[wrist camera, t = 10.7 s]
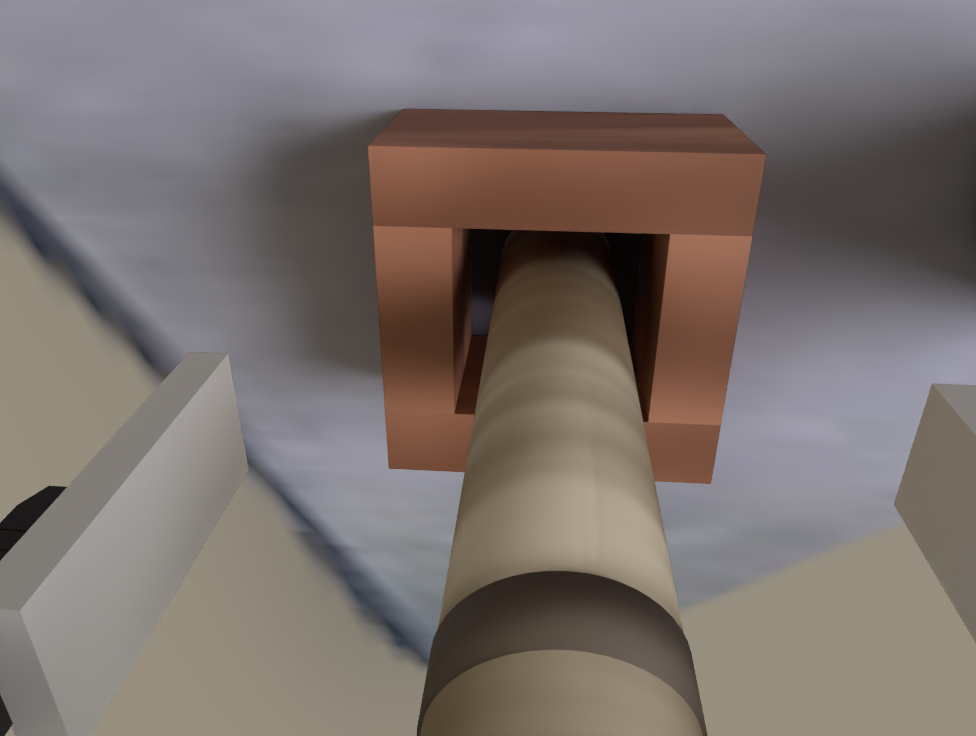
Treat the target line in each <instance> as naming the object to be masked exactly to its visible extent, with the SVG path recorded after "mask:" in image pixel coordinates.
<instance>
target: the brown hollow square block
mask: <svg viewBox="0 0 976 736" xmlns="http://www.w3.org/2000/svg"><path fill="white" fill-rule="evenodd" d="M368 158H369V173H370V188H371V203H372V219H373V234H374V249H375V264H376V280H377V295H378V310H379V325H380V341H381V356H382V371H383V386H384V402H385V417H386V432H387V447H388V463H389V469H410V470H431V471H452V472H465V468H466V462H467V456H468V451H469V445H470V439H471V433H472V427H473V421H474V415H475V409H476V404H477V398H478V392H479V386H480V380H481V374H482V368H483V362H484V356H485V351H486V345H487V339H488V336H480V335H472V315H471V229H502V230H538V231H574V232H610V233H643V235H642V245H641V255H640V265H639V275H638V285H637V295H636V304H635V314H634V324H633V334H632V341H628V345H629V350H630V355H631V360H632V366H633V371H634V376H635V381H636V387H637V392H638V397H639V402H640V408H641V413H642V418H643V423H644V429H645V434H646V439H647V444H648V450H649V455H650V460H651V465H652V471H653V476H654V481H662V482H683V483H704V484H711V480H712V474H713V468H714V462H715V456H716V450H717V444H718V438H719V432H720V426H721V420H722V415H723V409H724V403H725V397H726V391H727V385H728V379H729V373H730V367H731V361H732V355H733V349H734V343H735V337H736V331H737V325H738V319H739V314H740V308H741V302H742V296H743V290H744V284H745V278H746V272H747V266H748V260H749V254H750V248H751V242H752V236H753V230H754V224H755V218H756V213H757V207H758V201H759V195H760V189H761V183H762V177H763V171H764V165H765V159H766V154H765V153H764V152H763V151H762V150H761V149H760V148H759V147H758V146H757V145H756V144H755V143H754V142H752V141H751V140H750V139H749V138H748V137H747V136H746V135H745V134H744V133H743V132H742V131H741V130H740V129H738V128H737V127H736V126H735V125H734V124H733V123H732V122H731V121H730V120H729V119H728V118H727V117H726V116H724V115H721V114H666V113H610V112H555V111H499V110H443V109H404V110H403V111H402V112H401V113H400V114H399V115H398V116H397V117H396V118H395V119H394V120H393V121H392V122H391V123H390V124H389V125H388V126H387V127H386V128H385V129H384V130H383V131H382V132H381V133H380V134H379V135H378V136H377V137H376V138H375V139H374V140H373V141H372V142H371V143H370V144H369V145H368Z"/></svg>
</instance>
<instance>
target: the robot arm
mask: <svg viewBox="0 0 976 736" xmlns="http://www.w3.org/2000/svg"><path fill="white" fill-rule="evenodd" d="M247 472H248V464H247V459H246V453H245V447H244V441H243V436H242V430H241V424H240V419H239V413H238V407H237V401H236V396H235V390H234V384H233V379H232V373H231V367H230V362H229V356H228V354H224V353H200V352H189V353H188V354H187V356H186V357H185V358H184V359H183V360H182V361H181V362H180V363H179V364H178V365H177V367H176V368H175V369H174V370H173V371H172V372H171V373H170V374H169V375H168V377H167V378H166V379H165V380H164V381H163V382H162V383H161V384H160V385H159V386H158V388H157V389H156V390H155V391H154V392H153V393H152V394H151V395H150V396H149V397H148V399H147V400H146V401H145V402H144V403H143V404H142V405H141V406H140V407H139V408H138V410H137V411H136V412H135V413H134V414H133V415H132V416H131V417H130V418H129V420H128V421H127V422H126V423H125V424H124V425H123V426H122V427H121V428H120V430H119V431H118V432H117V433H116V434H115V435H114V436H113V437H112V438H111V440H109V442H108V443H107V444H106V445H105V446H104V447H103V448H102V449H101V450H100V452H99V453H98V454H97V455H96V456H95V457H94V458H93V459H92V460H91V461H90V463H89V464H88V465H87V466H86V467H85V468H84V469H83V470H82V471H81V472H80V474H79V475H78V476H77V477H76V478H75V479H74V480H73V481H72V482H71V483H70V485H69V486H68V487H59V486H48V487H46V488H45V489H43V490H41V491H40V492H38V493H37V494H35V495H33V496H32V497H30V498H28V499H27V500H25V501H23V502H22V503H20V504H19V505H17V506H16V507H15V508H14V509H13V510H12V511H11V512H10V513H9V514H8V515H7V517H6V518H5V519H4V520H3V521H2V522H1V523H0V736H5V734H6V733H7V731H8V730H9V729H10V727H12V729H13V731H14V734H15V736H91V735H92V733H93V731H94V730H95V728H96V726H97V725H98V723H99V721H100V720H101V718H102V716H103V715H104V713H105V711H106V709H107V708H108V706H109V704H110V703H111V701H112V699H113V698H114V696H115V694H116V693H117V691H118V689H119V688H120V686H121V684H122V683H123V681H124V679H125V677H126V676H127V674H128V672H129V671H130V669H131V667H132V666H133V664H134V662H135V660H136V659H137V657H138V656H139V654H140V652H141V651H142V649H143V647H144V645H145V643H146V642H147V640H148V638H149V637H150V635H151V634H152V632H153V630H154V628H155V627H156V625H157V624H158V622H159V620H160V618H161V617H162V615H163V613H164V612H165V610H166V608H167V607H168V605H169V603H170V602H171V600H172V598H173V596H174V595H175V593H176V591H177V590H178V588H179V586H180V585H181V583H182V581H183V580H184V578H185V576H186V575H187V573H188V571H189V569H190V568H191V566H192V565H193V563H194V561H195V559H196V558H197V556H198V554H199V553H200V551H201V549H202V548H203V546H204V544H205V542H206V541H207V539H208V538H209V536H210V534H211V532H212V531H213V529H214V527H215V526H216V524H217V522H218V520H219V519H220V517H221V516H222V514H223V512H224V511H225V509H226V507H227V505H228V504H229V502H230V500H231V499H232V497H233V495H234V493H235V492H236V490H237V489H238V487H239V485H240V484H241V482H242V480H243V479H244V477H245V475H246V473H247ZM894 505H895V507H896V509H897V510H898V512H899V514H900V516H901V517H902V519H903V521H904V522H905V524H906V526H907V527H908V529H909V531H910V532H911V534H912V536H913V538H914V539H915V541H916V543H917V544H918V546H919V547H920V549H921V551H922V552H923V554H924V556H925V558H926V559H927V561H928V563H929V565H930V566H931V568H932V569H933V571H934V573H935V575H936V576H937V578H938V580H939V581H940V583H941V585H942V587H943V588H944V590H945V592H946V593H947V595H948V597H949V598H950V600H951V602H952V603H953V605H954V607H955V609H956V610H957V612H958V614H959V615H960V617H961V619H962V620H963V622H964V624H965V625H966V627H967V629H968V630H969V632H970V634H971V635H972V637H973V639H974V641H975V642H976V385H954V384H932V386H931V389H930V392H929V395H928V398H927V401H926V405H925V408H924V411H923V414H922V417H921V420H920V424H919V427H918V430H917V433H916V436H915V439H914V442H913V446H912V449H911V452H910V455H909V458H908V461H907V465H906V468H905V471H904V474H903V477H902V480H901V483H900V487H899V490H898V493H897V496H896V499H895V502H894Z"/></svg>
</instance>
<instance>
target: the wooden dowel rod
mask: <svg viewBox="0 0 976 736" xmlns="http://www.w3.org/2000/svg"><path fill="white" fill-rule="evenodd" d="M417 736H707V731H706V726H705V721H704V716H703V711H702V706H701V701H700V696H699V691H698V685H697V680H696V675H695V670H694V665H693V660H692V654H691V651H690V647H689V644H688V641H687V639H686V637H685V635H684V633H683V628H682V623H681V618H680V612H679V607H678V602H677V597H676V591H675V586H674V581H673V576H672V570H671V565H670V560H669V555H668V549H667V544H666V539H665V534H664V528H663V523H662V518H661V513H660V507H659V502H658V497H657V492H656V486H655V481H654V476H653V471H652V465H651V460H650V455H649V450H648V444H647V439H646V434H645V429H644V423H643V418H642V413H641V408H640V402H639V397H638V392H637V387H636V381H635V376H634V371H633V366H632V360H631V355H630V350H629V345H628V339H627V334H626V329H625V324H624V318H623V313H622V308H621V303H620V297H619V292H618V287H617V282H616V276H615V271H614V266H613V261H612V255H611V250H610V247H609V243H608V241H607V239H606V237H605V235H604V233H603V232H574V231H538V230H512V231H511V233H510V234H509V236H508V238H507V240H506V242H505V244H504V247H503V251H502V256H501V262H500V268H499V274H498V280H497V286H496V292H495V298H494V303H493V309H492V315H491V321H490V327H489V333H488V339H487V345H486V351H485V356H484V362H483V368H482V374H481V380H480V386H479V392H478V398H477V404H476V409H475V415H474V421H473V427H472V433H471V439H470V445H469V451H468V456H467V462H466V468H465V474H464V480H463V486H462V492H461V498H460V504H459V509H458V515H457V521H456V527H455V533H454V539H453V545H452V551H451V557H450V562H449V568H448V574H447V580H446V586H445V592H444V598H443V604H442V609H441V615H440V621H439V627H438V629H437V632H436V634H435V636H434V639H433V643H432V647H431V652H430V658H429V663H428V669H427V675H426V681H425V687H424V692H423V698H422V704H421V709H420V715H419V720H418V726H417Z"/></svg>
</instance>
